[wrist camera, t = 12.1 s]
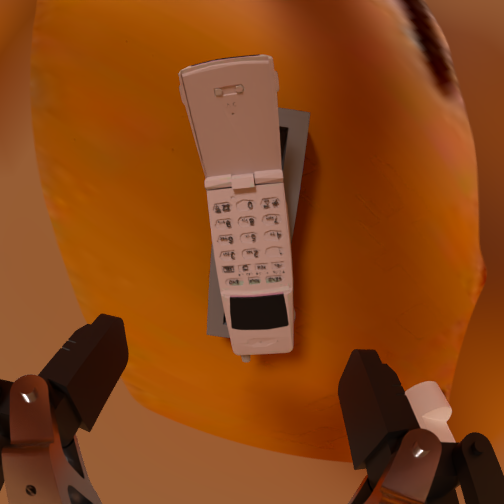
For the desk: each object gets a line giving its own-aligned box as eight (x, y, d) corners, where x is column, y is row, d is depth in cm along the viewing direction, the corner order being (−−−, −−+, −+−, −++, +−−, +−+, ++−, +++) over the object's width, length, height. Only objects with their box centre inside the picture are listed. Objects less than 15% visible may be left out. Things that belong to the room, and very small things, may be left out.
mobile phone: (274, 50, 13) (299, 394, 21) (273, 77, 18) (295, 352, 26) (174, 66, 13) (228, 397, 21) (197, 87, 19) (236, 355, 27)
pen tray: (232, 110, 23) (226, 102, 19) (303, 119, 23) (310, 112, 19) (213, 313, 30) (206, 334, 26) (272, 320, 30) (272, 343, 26)
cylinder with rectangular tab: (381, 412, 36) (400, 469, 24) (421, 375, 33) (451, 433, 21) (410, 419, 37) (429, 469, 25) (446, 387, 34) (473, 435, 23)
